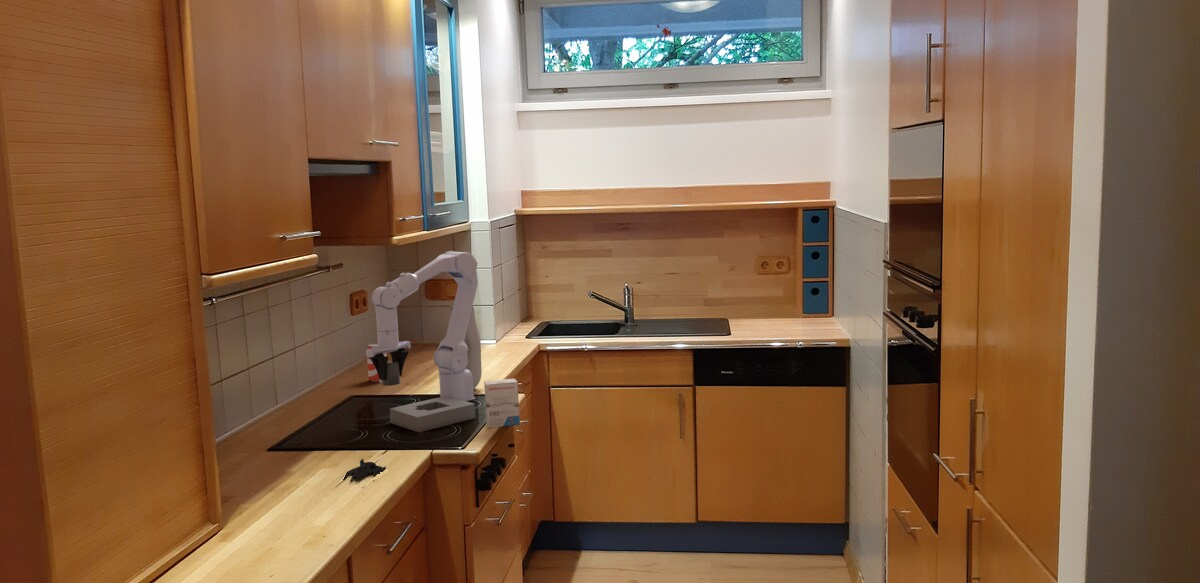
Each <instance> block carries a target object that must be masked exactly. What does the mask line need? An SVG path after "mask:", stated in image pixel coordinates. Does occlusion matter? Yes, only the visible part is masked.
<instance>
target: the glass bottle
mask: <svg viewBox="0 0 1200 583" xmlns="http://www.w3.org/2000/svg"><path fill="white" fill-rule="evenodd" d="M453 305H454V302H452V304H451V305H450V309H449V320H448V323H449V322H450V318H451V314H452V309H453ZM464 342H465V344H466V345H467V347H468V351H467V357H468V363H467V366H466V368H465V369H468V370H469V371H470V372H471V374H472V376H473V389H475V388H477V387H478V385H479V383H480V381H481V379H482V374H483V373H482V369H483V368H482V347H481V346H482V344H481V336H480V332H479V327H478V324H477V321H476V311H475V307H474V305H473V306H472V310H471V314H470V319H469V323H468V327H467V331H466V336H465V340H464Z"/></svg>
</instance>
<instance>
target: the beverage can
mask: <svg viewBox="0 0 1200 583" xmlns="http://www.w3.org/2000/svg"><path fill="white" fill-rule="evenodd" d="M377 345H378V342H376V343H369V344H368V345H367V346H368V347H367V348H366V350H368V349H371V348H373V347H376V346H377ZM387 354H388V353H385V354H383V355H384V356H387ZM387 357H388V356H387ZM366 360H367V372H368V373H367V374H368V380H369V381H370V382H373V383H380V379H379V376H378V373H377V370H376V368H375V366H374V364H373V363H372V361H371V360H370V357H366Z"/></svg>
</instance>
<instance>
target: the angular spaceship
mask: <svg viewBox="0 0 1200 583" xmlns="http://www.w3.org/2000/svg"><path fill="white" fill-rule="evenodd" d="M364 460H365V459H364V458H361V459H360V460H359V466H357V467H354V468H352V469H349V470H350V471H349V470H347V471H348V472H347V471H346V472H347V473H346V472H345V473H346V475H345V477H344V479H343V480H344V481H345V480H347V479H348V478H349V477H351V479H350V480H349V483H351V482H352V481H354V483H356V482H359V481H360V480H362V479H364V478H366V477H367V476H369V475H370V474H373V476H376V475H377V474H380V472H383V471H384V470H385V469H386V468H387V467H386V466H380V465H377V464H376V463H378V460H376V461H375V462H373V461H364ZM348 476H349V477H348ZM365 476H366V477H365ZM347 477H348V478H347ZM346 478H347V479H346ZM354 479H356V480H354Z"/></svg>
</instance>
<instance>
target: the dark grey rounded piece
mask: <svg viewBox="0 0 1200 583" xmlns="http://www.w3.org/2000/svg"><path fill="white" fill-rule="evenodd" d="M379 383H380V384H381V386H387V387H388V386H389V387H390V386H391V387H392V386H397V385H400V384H401V376H400V373H399V361H392V360H388V361H387V379H386V380H385V381H384V380H380V382H379Z"/></svg>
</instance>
